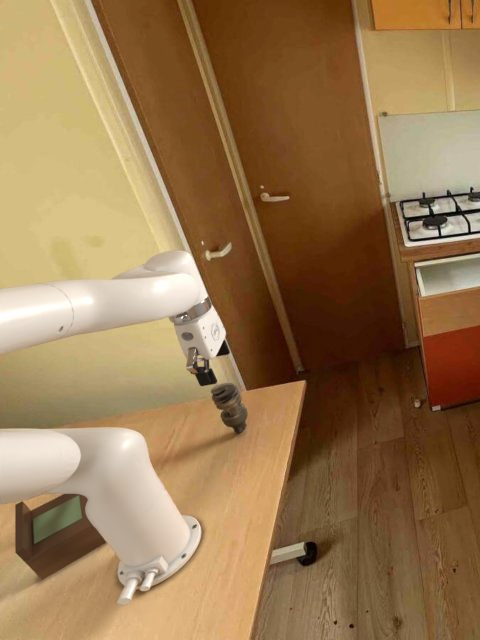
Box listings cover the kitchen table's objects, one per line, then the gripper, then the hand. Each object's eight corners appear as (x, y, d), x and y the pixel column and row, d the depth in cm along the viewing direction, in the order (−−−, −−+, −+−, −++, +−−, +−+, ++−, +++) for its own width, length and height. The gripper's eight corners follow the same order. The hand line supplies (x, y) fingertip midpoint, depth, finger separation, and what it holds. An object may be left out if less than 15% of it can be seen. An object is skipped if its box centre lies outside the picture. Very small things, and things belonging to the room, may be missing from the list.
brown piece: (99, 500, 89) (79, 472, 85) (107, 541, 82) (85, 514, 78) (39, 532, 83) (15, 504, 79) (42, 580, 76) (15, 552, 72)
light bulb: (223, 433, 104) (203, 388, 97) (245, 418, 108) (228, 374, 101) (236, 443, 102) (216, 398, 95) (258, 427, 106) (240, 383, 99)
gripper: (195, 329, 82) (223, 393, 90) (221, 283, 96) (244, 342, 104) (149, 336, 80) (182, 400, 88) (184, 288, 94) (209, 347, 102)
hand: (216, 368), depth 96 cm, fingers open, 9 cm apart
